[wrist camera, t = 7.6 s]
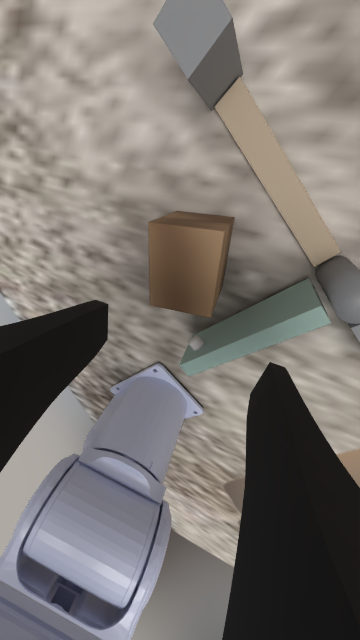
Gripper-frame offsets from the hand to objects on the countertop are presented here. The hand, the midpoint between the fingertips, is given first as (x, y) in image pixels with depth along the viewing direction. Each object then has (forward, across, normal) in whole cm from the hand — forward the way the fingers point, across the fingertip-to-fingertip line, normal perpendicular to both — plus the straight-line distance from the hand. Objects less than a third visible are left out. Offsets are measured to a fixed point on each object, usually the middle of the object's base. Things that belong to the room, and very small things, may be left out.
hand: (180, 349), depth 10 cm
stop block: (+9, +2, -1) cm, 10 cm away
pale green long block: (+9, -3, +2) cm, 10 cm away
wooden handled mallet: (+9, -4, -5) cm, 11 cm away
